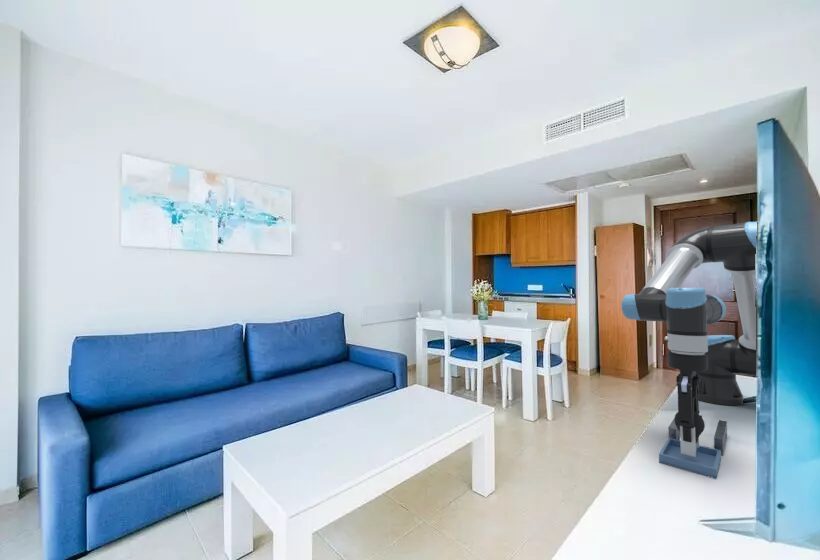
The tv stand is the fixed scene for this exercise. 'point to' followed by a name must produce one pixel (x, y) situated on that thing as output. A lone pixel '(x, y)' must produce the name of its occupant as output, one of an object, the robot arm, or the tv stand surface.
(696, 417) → the black round speckled part
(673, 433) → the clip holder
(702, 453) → the parts tray
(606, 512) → the tv stand surface
